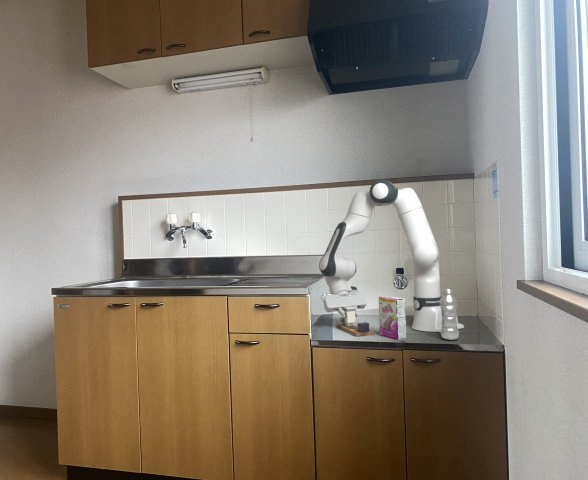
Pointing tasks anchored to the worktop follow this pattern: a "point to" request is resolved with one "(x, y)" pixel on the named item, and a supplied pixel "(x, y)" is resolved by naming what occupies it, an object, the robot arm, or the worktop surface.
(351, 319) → the grey-banded white pillar
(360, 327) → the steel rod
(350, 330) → the rail board
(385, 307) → the candy bar box
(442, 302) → the plastic bottle
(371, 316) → the worktop surface
